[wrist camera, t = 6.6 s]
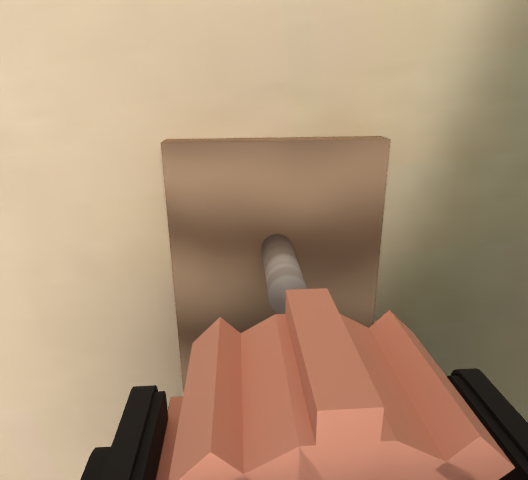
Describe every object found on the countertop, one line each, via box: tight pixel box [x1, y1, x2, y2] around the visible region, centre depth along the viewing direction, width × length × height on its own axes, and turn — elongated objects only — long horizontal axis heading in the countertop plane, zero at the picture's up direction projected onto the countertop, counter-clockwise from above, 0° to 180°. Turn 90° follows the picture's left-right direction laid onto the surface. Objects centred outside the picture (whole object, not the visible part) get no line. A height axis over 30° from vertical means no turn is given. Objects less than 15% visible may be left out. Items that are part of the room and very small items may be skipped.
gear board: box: [161, 136, 390, 391], centre depth 21 cm, size 22×11×8 cm, turn 0°
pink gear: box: [156, 288, 515, 480], centre depth 9 cm, size 7×7×4 cm
